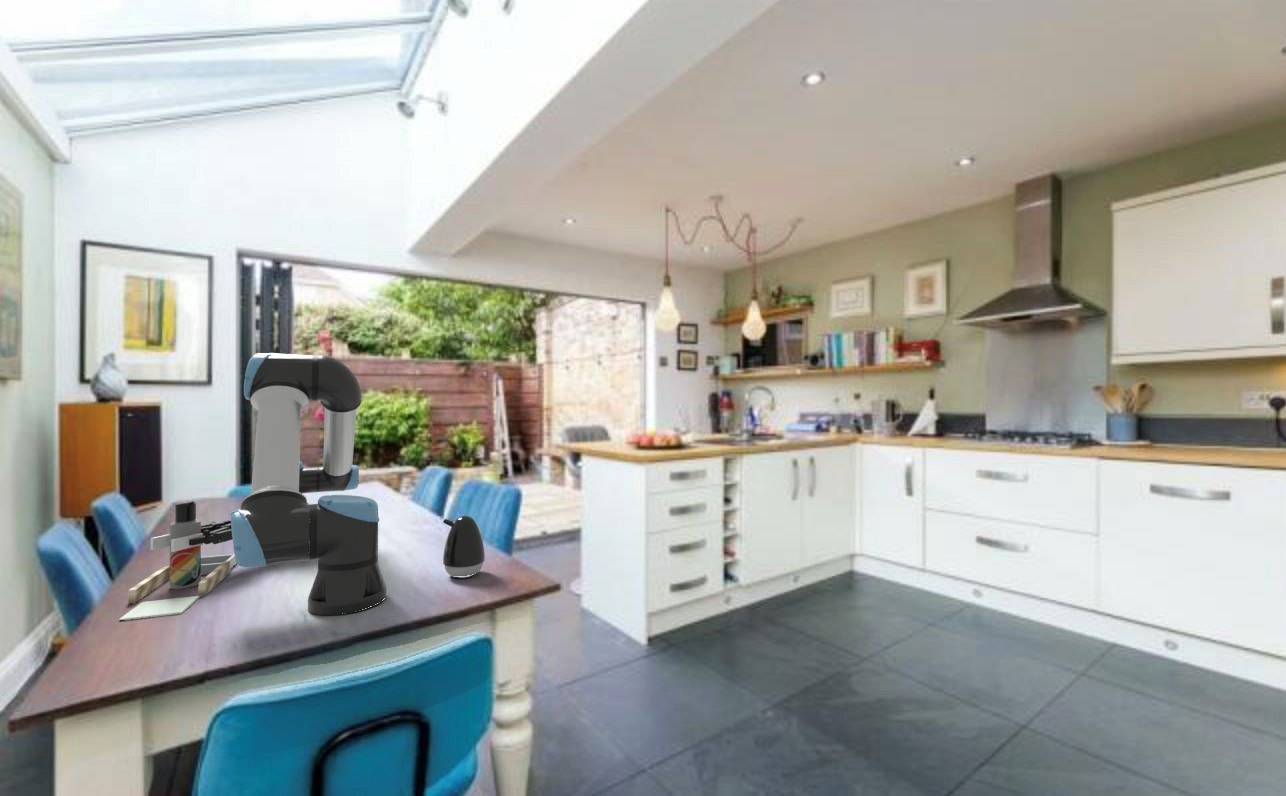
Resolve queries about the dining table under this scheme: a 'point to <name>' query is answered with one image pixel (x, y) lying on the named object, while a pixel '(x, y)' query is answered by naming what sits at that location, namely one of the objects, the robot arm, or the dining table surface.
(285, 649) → the dining table surface
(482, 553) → the pump dispenser
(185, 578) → the lotion bottle
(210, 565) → the pit bin
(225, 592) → the dining table surface
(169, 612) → the pad
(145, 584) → the oak channel
